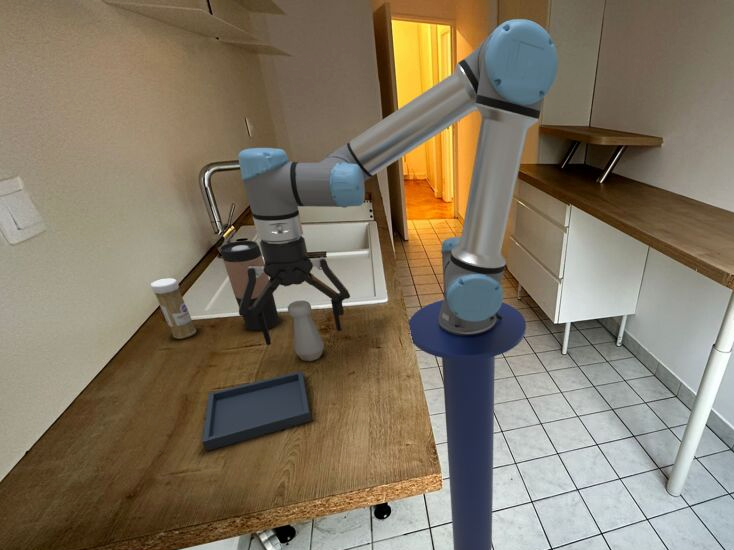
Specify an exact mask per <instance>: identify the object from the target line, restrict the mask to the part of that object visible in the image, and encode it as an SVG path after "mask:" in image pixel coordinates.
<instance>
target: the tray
mask: <svg viewBox="0 0 734 550" xmlns="http://www.w3.org/2000/svg"><path fill="white" fill-rule="evenodd" d="M310 422H312V416H311V409H310V404H309V397H308V392H307V387H306V381H305V376H304V373H303V370H300V371H296V372H291V373H287V374H283V375H278V376H274V377H270V378H266V379H261V380H256V381H254V382H248V383H244V384H241V385H237V386H232V387H228V388H223V389H219V390H216V391H212V392H211V391H210V392H209V393H208V398H207V406H206V413H205V419H204V425H203V426H204V427H203V435H202V444H203V446H204V448H205V451H206V452H210V451H213V450H216V449H219V448H222V447H226V446H229V445H232V444H237V443H241V442H244V441H248V440H250V439H255V438H257V437H261V436H264V435H268V434H271V433H275V432H278V431H282V430H286V429H289V428H292V427H295V426H299V425H302V424H305V423H310Z"/></svg>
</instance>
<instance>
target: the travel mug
mask: <svg viewBox="0 0 734 550" xmlns="http://www.w3.org/2000/svg"><path fill="white" fill-rule="evenodd" d="M219 252H220V255H221V258H222V260H223V265H224V267H225V270H226V274H227V276H228V279H229V283H230V285H231V289H232V290H233V295H234V298H235V300H236V303H237V306H238V307H239V306H240V303H241V300H242V296H243V293H244V290H245V287H246V283H247V280H248V265H250V264H252V265H254V266H264V265H265V261H264V257H263V253H262V250H261V247H260V244H258V243H257V242H256V241H254V240H239V241H238V240H237V241H232V242H228V243H225V244H223V245H221V246H220V247H219ZM269 280H270V277H269V276H268V275H267V274H265V273H262V274H261V277H260V278H256V284H255V287H254V291H253V294H252V297H251V300H250V303H249V307H251V306H253V304H254V303H255V301H256V300H257V298H258V297H259V295H260V294H261V292H262V291H263V289H264V288H265V287H266V285H267V284H268V281H269ZM261 311H263V314H264V318H265V321H266V325H267V328H268V330H270V329H272V328H274V327H276V326H277V325H278V324H279V323H280V317H279V312H278V309H277V304H276V300H275V297H274V293H273V294H272V295H271V297H270V298H269V300H268V301H267V303H266V304H265V305H264V307H263V308H262V310H261ZM242 319H243V321H244V322H243V323H244V324H245V326H246V328H247V330H249V331H253V332H260V331H261V332H262V330H256V329H255V327H254V323H253V320H252V317H251V316H248V315H245V316H242Z"/></svg>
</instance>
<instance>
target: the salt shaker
mask: <svg viewBox="0 0 734 550" xmlns="http://www.w3.org/2000/svg"><path fill="white" fill-rule="evenodd" d="M287 312H288V314H289V316H290V317H292V318H293V349H294V351H295V353H296V355H297V356H298V357H299V358H300V359H301V361H306V362H313V361H315V360H318V359H320V357H321V356H322V355H323V352H324V348H325V343H324V341H323V339H322V336H321V335H320V332H319V330H318V328H317V326H316V324H315V322H314V320H313V318H312V315H311V313H312V305H311V303H310V302H309V301H306V300H301V299H300V300H295V301H292V302H290V303H289V305H288V306H287Z"/></svg>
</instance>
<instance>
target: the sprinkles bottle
mask: <svg viewBox="0 0 734 550" xmlns="http://www.w3.org/2000/svg"><path fill="white" fill-rule="evenodd" d="M150 288H151V290H152V293H154V295H155V297H156V299H157V301H158V304H159V307H160V310H161V311H162V313H163V316H164V318H165V320H166V323H167V326H168V327H169V328H170V331H171V333H172V337H173V338H175V339H180V340H181V339H186V338H190V337H192V336H194V335H196V333H197V328H195V325H194V322H193V320H192V316H191V313H190V312H189V309H188V307H187V305H186V303H185V300H184V298H183V296H182V293H181V290H180V286H179V283H178V281H177V279H175V278H170V277H169V278H168V277H167V278H161V279H157V280H155V281H152V282H151V283H150Z"/></svg>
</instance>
